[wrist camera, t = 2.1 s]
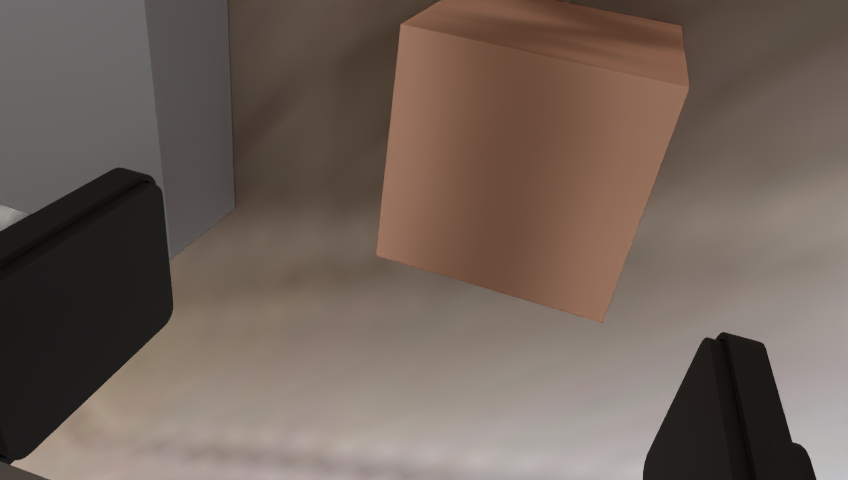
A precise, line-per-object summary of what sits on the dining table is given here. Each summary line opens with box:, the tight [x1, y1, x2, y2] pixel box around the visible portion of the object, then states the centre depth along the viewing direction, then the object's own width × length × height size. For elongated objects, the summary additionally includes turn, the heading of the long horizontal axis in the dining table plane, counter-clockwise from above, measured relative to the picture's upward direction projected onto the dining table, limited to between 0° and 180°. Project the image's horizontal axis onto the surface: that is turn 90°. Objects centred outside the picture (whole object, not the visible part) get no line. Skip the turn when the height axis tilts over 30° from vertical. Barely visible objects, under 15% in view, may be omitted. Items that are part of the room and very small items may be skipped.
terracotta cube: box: [376, 0, 690, 323], centre depth 17 cm, size 6×6×6 cm
